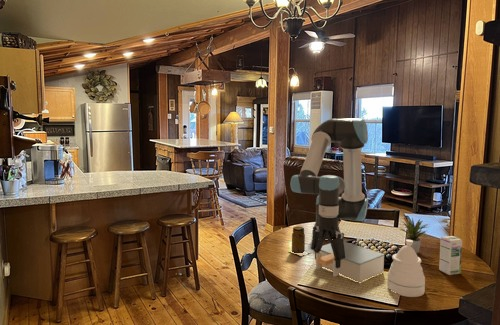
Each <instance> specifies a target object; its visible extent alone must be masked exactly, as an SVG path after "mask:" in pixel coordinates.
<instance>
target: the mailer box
mask: <svg viewBox="0 0 500 325" xmlns="http://www.w3.org/2000/svg"><path fill="white" fill-rule="evenodd" d="M320 252H322V251H320ZM326 255H329V254H327V253H325V252H322V257H323V256H326ZM384 265H385V255H384V256H382V257H380V258H377V259H375V260H372V261H370V262H367V263H364V264H362V265H358V264H355V263H352V262H350V261H347V260H344V259H342V260H341V264H340V268H339V273H340V274H342V275H344V276H346V277H349V278H351V279H353V280H355V281H358V282H362V281H363V280H365V279H368V278H370V277H372V276H375V275H377V274H380V273H382V272H383V273H384V267H385V266H384ZM322 267H325V268H327V269H330V270H332V271H333V263H332V264H329V265H326V266H325V265H322Z"/></svg>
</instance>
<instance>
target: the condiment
mask: <svg viewBox="0 0 500 325" xmlns="http://www.w3.org/2000/svg"><path fill="white" fill-rule="evenodd" d="M305 237H306V235H305V228H304V227H303V226H293V228H292V234H291V251H292V252H294V253H303V252H304V251H305V249H306V247H305V246H306V245H305V244H306V240H305V239H306V238H305Z"/></svg>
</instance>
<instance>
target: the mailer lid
mask: <svg viewBox="0 0 500 325" xmlns="http://www.w3.org/2000/svg"><path fill="white" fill-rule="evenodd" d="M344 249H345V259H344V260H347V261H350V262H352V263H355V264H358V265H362V264H364V263H367V262H370V261H372V260H375V259H377V258H380V257H382V256H384V257H385V254H384V253H383V252H379V251H376V250H372V249H369V248H366V247H363V246H360V245H356V244H353V243H350V242H346V241H344ZM321 250H322V252H325V253H327V254H329V255H326V256H323V257H320V258H318V263H320V264H322V265H325V266H326V265H329V264H332V263H333V259H335V257H334V254H333V250H332V247H331V243H330V242H329V243H326V244H323V246H322V248H321Z"/></svg>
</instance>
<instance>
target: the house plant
mask: <svg viewBox="0 0 500 325" xmlns="http://www.w3.org/2000/svg"><path fill="white" fill-rule="evenodd" d="M401 223H403V224H404V225H405V228H406V229H407V230H405V229H403V228H402V229H401V228H400V229H399V230H400V231H403V232H405V233H406V234H407V236H405V241H406V240H413V244H412V245H411V247H412V248H413V249H414V251H415V253H416V254H418V253H419V252H420V247H421V245H422V244H421V243H422V238H421V236H424V237H426V234H427V231H426V230H423V231H422V229H425V228H429V223H427V224H423V225H422V223H423V220H421V218H418V221H417V222H416V224H415V222H414V218H413V217H412V218H411V220H410V219H409V218H407V222H406V223H405V221H401ZM426 238H427V237H426ZM405 245H407V244H406V243H405Z"/></svg>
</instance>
